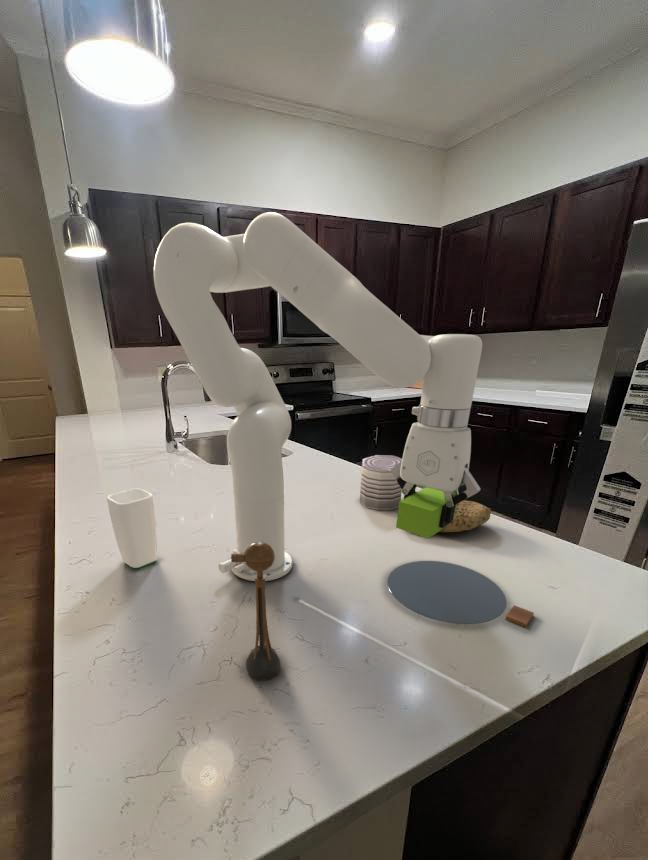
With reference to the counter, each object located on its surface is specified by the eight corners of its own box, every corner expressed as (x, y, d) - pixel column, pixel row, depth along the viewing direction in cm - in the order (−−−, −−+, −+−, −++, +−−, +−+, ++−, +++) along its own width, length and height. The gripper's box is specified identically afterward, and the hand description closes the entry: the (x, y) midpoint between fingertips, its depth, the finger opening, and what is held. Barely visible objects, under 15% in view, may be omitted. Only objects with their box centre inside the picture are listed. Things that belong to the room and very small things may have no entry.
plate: (480, 644, 63) (481, 641, 63) (366, 593, 76) (366, 590, 76) (521, 589, 76) (522, 586, 76) (417, 553, 89) (418, 550, 89)
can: (410, 504, 114) (415, 461, 109) (381, 514, 108) (385, 469, 103) (378, 492, 123) (382, 452, 118) (350, 501, 117) (352, 459, 112)
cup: (147, 549, 93) (137, 486, 87) (165, 561, 88) (155, 495, 82) (116, 561, 88) (103, 496, 82) (133, 574, 83) (120, 505, 77)
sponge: (406, 542, 96) (502, 533, 90) (402, 509, 94) (499, 498, 89) (403, 528, 108) (488, 519, 103) (400, 499, 107) (485, 488, 101)
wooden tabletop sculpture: (238, 680, 57) (229, 552, 49) (239, 656, 62) (232, 534, 54) (281, 679, 57) (279, 550, 49) (279, 655, 62) (277, 533, 54)
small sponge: (428, 538, 69) (433, 511, 67) (395, 527, 73) (399, 501, 71) (453, 520, 76) (458, 495, 74) (422, 511, 80) (426, 486, 78)
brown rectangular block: (525, 630, 66) (526, 624, 65) (504, 622, 68) (505, 616, 67) (532, 618, 68) (534, 612, 68) (512, 610, 70) (513, 605, 70)
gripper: (383, 413, 70) (372, 511, 77) (490, 429, 59) (466, 542, 66) (405, 408, 75) (393, 501, 82) (508, 422, 64) (484, 528, 71)
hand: (426, 518), depth 74 cm, fingers closed on small sponge, 6 cm apart
